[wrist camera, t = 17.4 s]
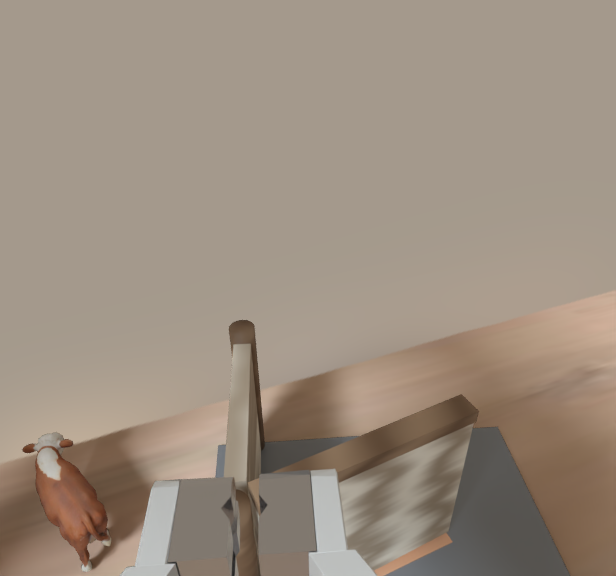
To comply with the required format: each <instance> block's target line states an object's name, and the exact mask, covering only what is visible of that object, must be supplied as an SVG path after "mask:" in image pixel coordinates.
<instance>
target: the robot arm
mask: <svg viewBox="0 0 616 576" xmlns="http://www.w3.org/2000/svg"><path fill="white" fill-rule="evenodd" d="M235 498H236V485H235V479H234V477H220V478H200V479H178V480H163V481H155V483H154V485H153V487H152V489H151V492H150V497H149V502H148V507H147V511H146V516H145V521H144V526H143V530H142V535H141V540H140V545H139V549H138V554H137V559H136V564H135V566H131V567H126V569H125V570H124V571H123V572H122V573H121V575H120V576H239V574H238V567H237V560H236V556H237V554H238V553H239V551H240V515H239V505H238V501H237V500H235ZM259 502H260V513H261V515H260V516H259V528H258V555H259V565H260V574H261V576H378V575H377V574H376V573H375V572H374V570H373V569H372V568H371V567H370V566H369V564H368V563H367V562H366V561H365V560H364V558H363V557H362V556H361V555H360V553H359V552H358V551H357V550H356V549H348V545H347V538H346V531H345V523H344V516H343V509H342V502H341V495H340V488H339V481H338V474H337V472H336V470H335V468H334V469H323V470H312V471H309V470H301V471H289V472H278V473H266V474H260V475H259Z"/></svg>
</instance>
